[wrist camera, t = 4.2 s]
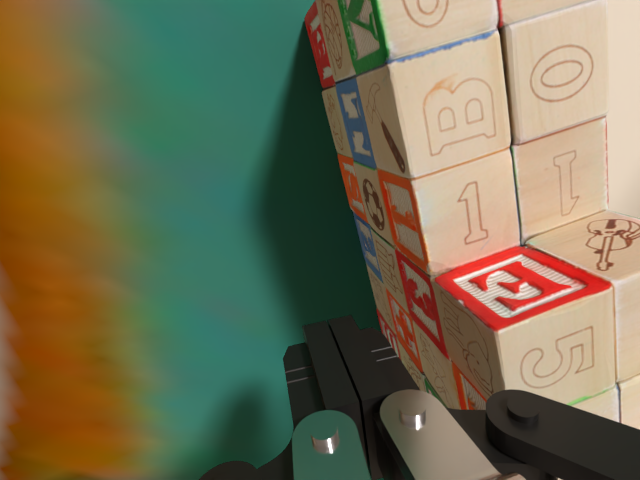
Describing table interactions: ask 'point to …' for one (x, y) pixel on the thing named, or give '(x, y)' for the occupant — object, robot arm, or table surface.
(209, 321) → the table surface
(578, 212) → the stack of blocks
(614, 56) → the mat
